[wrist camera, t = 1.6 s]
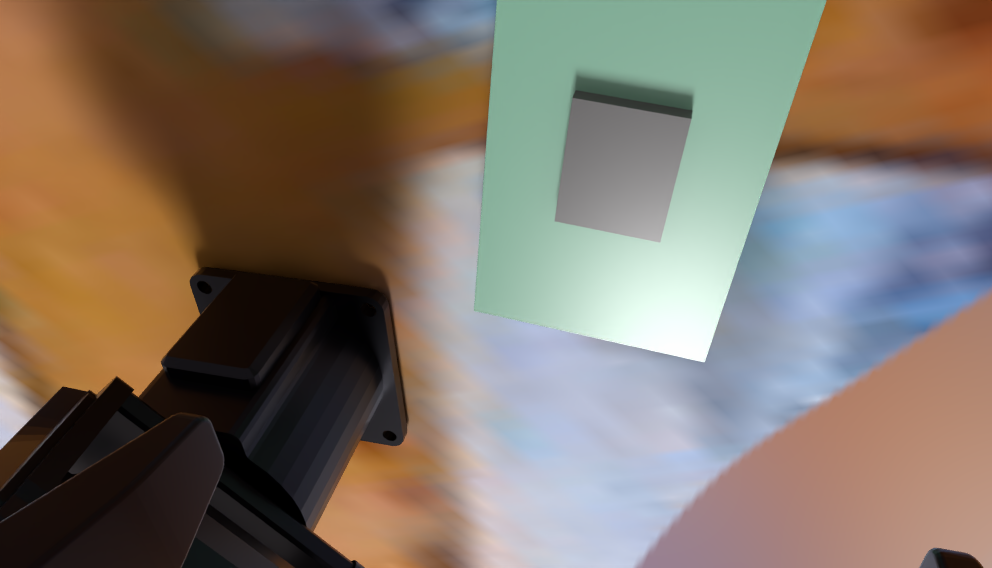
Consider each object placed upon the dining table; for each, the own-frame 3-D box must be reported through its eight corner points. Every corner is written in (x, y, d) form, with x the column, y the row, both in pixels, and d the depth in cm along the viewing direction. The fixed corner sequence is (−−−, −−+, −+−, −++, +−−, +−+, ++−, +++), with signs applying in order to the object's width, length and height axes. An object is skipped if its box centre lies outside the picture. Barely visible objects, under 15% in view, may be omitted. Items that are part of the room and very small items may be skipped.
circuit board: (707, 304, 21) (703, 373, 19) (496, 259, 22) (470, 320, 20) (833, -91, 15) (849, -55, 13) (532, -131, 16) (499, -104, 14)
